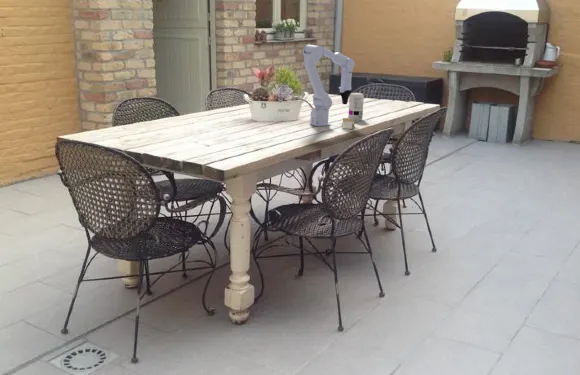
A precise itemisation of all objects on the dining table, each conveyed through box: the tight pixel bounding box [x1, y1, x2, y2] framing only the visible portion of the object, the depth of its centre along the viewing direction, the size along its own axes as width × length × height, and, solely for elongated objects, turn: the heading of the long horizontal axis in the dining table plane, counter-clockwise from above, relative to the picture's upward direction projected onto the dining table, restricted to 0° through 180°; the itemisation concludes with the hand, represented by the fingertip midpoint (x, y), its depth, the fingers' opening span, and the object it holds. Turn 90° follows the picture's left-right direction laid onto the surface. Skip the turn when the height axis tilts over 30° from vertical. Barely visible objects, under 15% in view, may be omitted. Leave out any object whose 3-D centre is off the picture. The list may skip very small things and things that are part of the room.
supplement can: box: [348, 92, 365, 121], centre depth 362 cm, size 8×8×15 cm
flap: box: [341, 117, 354, 130], centre depth 335 cm, size 3×6×6 cm
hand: (344, 104), depth 350 cm, fingers closed
